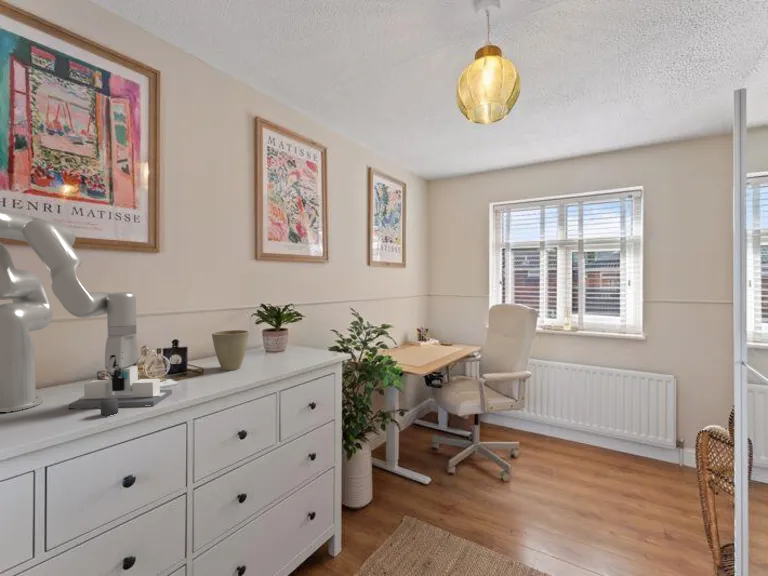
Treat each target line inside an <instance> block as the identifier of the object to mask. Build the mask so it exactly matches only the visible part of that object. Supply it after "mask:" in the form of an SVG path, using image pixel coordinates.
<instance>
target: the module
mask: <svg viewBox="0 0 768 576" xmlns="http://www.w3.org/2000/svg"><path fill="white" fill-rule="evenodd" d="M116 368H119V367H118V366H116ZM116 371H117V372H118V373H119V370H116ZM138 372H139V369H138V365H136V366H127V367H125V368H124V369H123V377H122V378H124V390H123V391H133V387H132V383H134V382H136V381H138V380H139V373H138ZM108 374H109V373H108ZM108 376H109V378H108V380H109V386H110V392H120V391H113V390H112V379H111V375H110V374H109V375H108Z"/></svg>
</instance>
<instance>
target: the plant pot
mask: <svg viewBox="0 0 768 576" xmlns="http://www.w3.org/2000/svg"><path fill="white" fill-rule="evenodd" d="M249 332H250V331H249V330H244V329H236V330H235V329H231V330H222V331H220V330H219V331H215V332H212V333H211V336H212V343H213V348H214V352H215V355H216V358H217V361H218V363H219V365H220V368H221V370H222V371H234V370H239V369H241V367H242V363H243V361H244V357H245V354H246V351H247V346H248V342H249V341H248V340H249V334H250V333H249Z"/></svg>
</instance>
